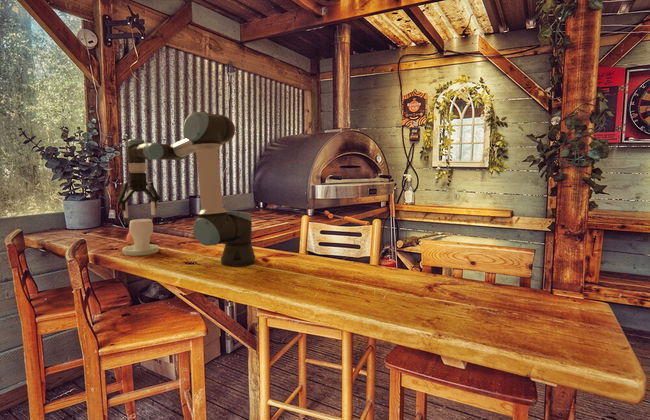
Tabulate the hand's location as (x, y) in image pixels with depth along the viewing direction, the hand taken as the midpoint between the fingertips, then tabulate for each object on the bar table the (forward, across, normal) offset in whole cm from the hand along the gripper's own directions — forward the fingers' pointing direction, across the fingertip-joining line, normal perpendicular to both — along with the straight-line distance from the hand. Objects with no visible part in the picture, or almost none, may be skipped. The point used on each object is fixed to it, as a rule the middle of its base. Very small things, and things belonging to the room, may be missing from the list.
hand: (140, 216), depth 190 cm
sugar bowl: (+18, -9, -18) cm, 27 cm away
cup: (+17, -1, -1) cm, 17 cm away
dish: (+18, 0, -1) cm, 18 cm away
